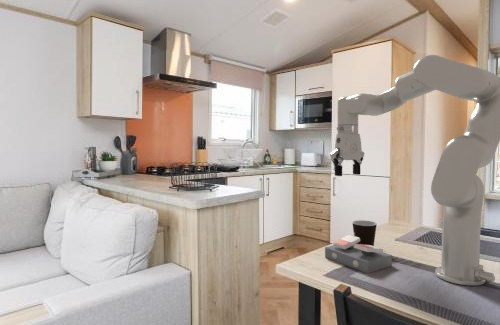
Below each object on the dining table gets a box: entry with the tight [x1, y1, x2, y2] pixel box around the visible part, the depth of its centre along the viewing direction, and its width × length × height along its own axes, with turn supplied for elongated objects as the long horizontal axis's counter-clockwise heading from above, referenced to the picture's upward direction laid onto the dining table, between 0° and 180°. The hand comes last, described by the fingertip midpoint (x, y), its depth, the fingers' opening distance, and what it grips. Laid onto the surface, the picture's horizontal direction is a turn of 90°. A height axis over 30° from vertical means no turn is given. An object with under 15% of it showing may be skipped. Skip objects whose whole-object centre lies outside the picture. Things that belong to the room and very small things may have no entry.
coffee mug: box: [352, 219, 378, 246], centre depth 129 cm, size 12×9×10 cm
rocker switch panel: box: [324, 244, 393, 274], centre depth 115 cm, size 18×12×4 cm
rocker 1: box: [332, 234, 360, 250], centre depth 119 cm, size 5×8×1 cm, turn 122°
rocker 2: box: [354, 244, 384, 253], centre depth 111 cm, size 5×8×1 cm, turn 122°
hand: (347, 175), depth 129 cm, fingers open, 9 cm apart
